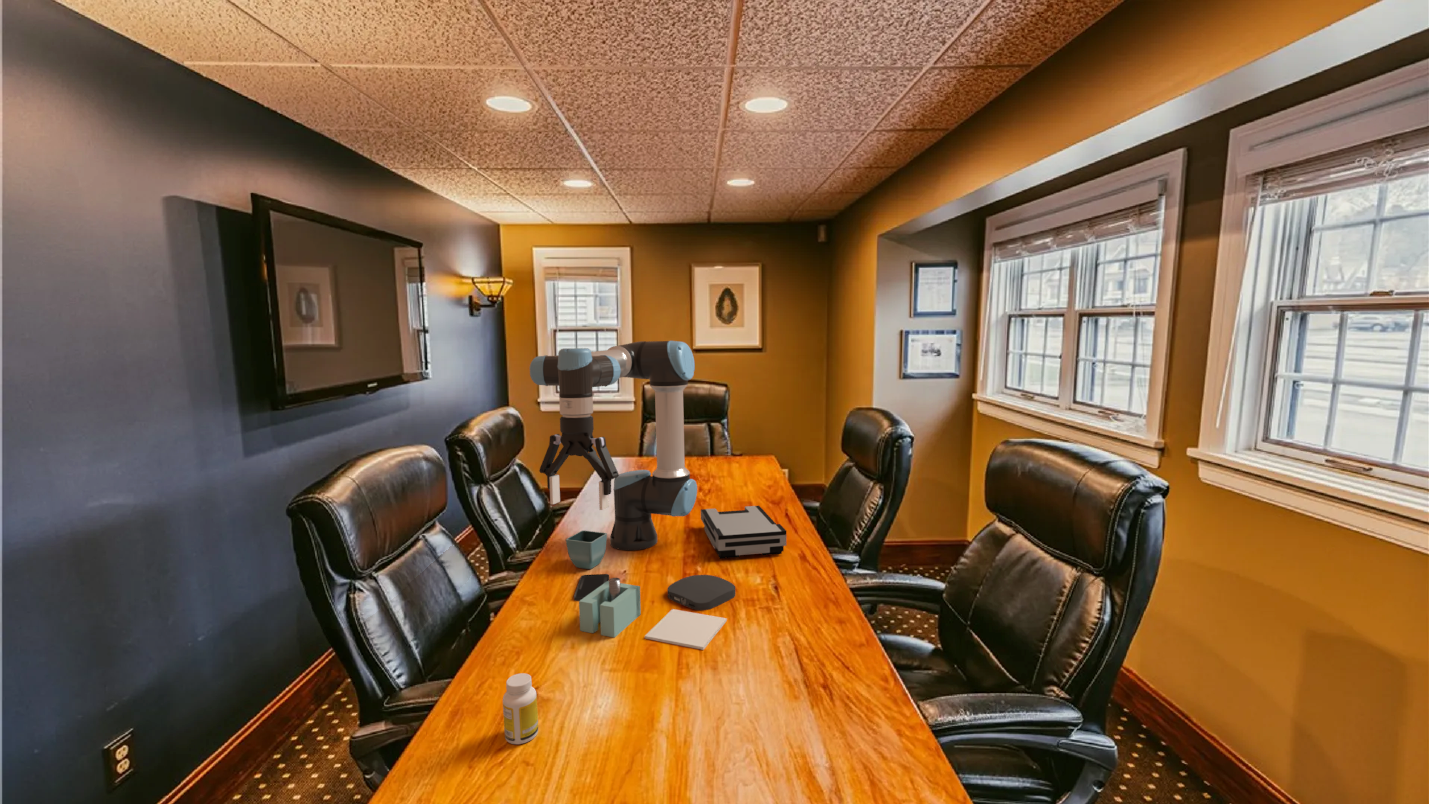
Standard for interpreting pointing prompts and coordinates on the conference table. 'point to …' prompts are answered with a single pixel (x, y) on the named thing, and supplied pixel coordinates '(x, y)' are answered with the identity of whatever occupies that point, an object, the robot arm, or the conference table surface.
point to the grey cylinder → (614, 588)
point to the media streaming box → (701, 591)
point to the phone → (589, 584)
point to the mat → (686, 629)
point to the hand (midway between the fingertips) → (579, 505)
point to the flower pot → (586, 548)
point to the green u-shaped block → (609, 609)
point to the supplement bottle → (520, 709)
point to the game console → (743, 532)
